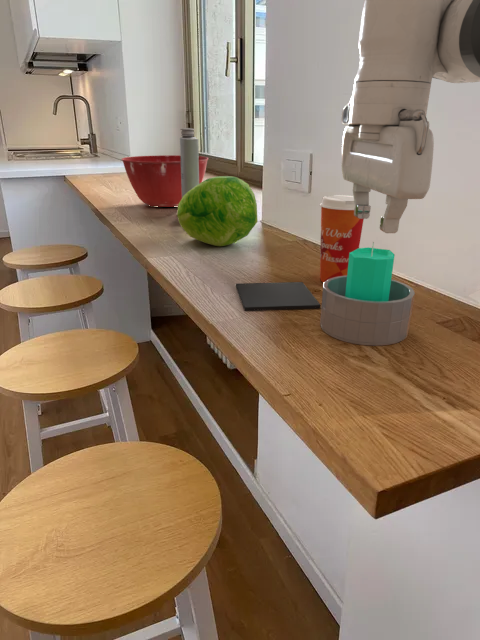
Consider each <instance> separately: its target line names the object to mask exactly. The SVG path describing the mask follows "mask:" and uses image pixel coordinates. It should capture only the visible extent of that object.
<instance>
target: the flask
mask: <svg viewBox="0 0 480 640" xmlns="http://www.w3.org/2000/svg"><path fill="white" fill-rule="evenodd" d="M179 131H180V137H179V147H180V149H179V152H180V154H179V155H181V189H182V198H183V196H184V195H185V194H186V193H187V192H188V191H190V190H191V189H192V188H194V187H195V186H197V185H198V184H199V156H200V155H199V154H200V153H199V152H200V151H199V147H200V146H199V138H197V137H196V136H195V128H192V127H183V128H180V129H179Z"/></svg>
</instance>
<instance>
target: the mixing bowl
mask: <svg viewBox="0 0 480 640" xmlns="http://www.w3.org/2000/svg"><path fill="white" fill-rule="evenodd" d="M120 160H121V161H122V163H123V167H124V171H125V173H126V175H127V178H128V181H129V183H130V184H131V187H132V189H133V191H134V192H135V194H136V196H137V197H138V199H139V200H140V201H141V202H142V203H144V204H145V205H147V206H148V205H150V206H158V207H174V206H178V204H179V203H180V201H181V199H182V189H181V155H180V154H179V155H176V154H175V155H170V154H169V155H167V154H166V155H165V154H163V155H161V154H160V155H159V154H158V155H138V156H126V157H122V158H121V159H120ZM208 161H209V157H208V156H202V155H201V156H200V155H199V184H200V183H201V182H203V181H204V178H205V174H206V170H207V164H208ZM150 206H149V207H150Z"/></svg>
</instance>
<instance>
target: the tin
mask: <svg viewBox="0 0 480 640" xmlns="http://www.w3.org/2000/svg"><path fill="white" fill-rule="evenodd" d="M346 282H347V275H344V276H337V277H333V278H330V279H328V280H326V281H325V282H324V283H323V284H322V295H321V296H322V297H321V308H320V320H319V325H320V328H321V330H322V332H324V333H325V334H327V335H328V336H330V337H331V338H334V339H337V340H339V341H342V342H345V343H349V344H354V345H360V346H371V347H372V346H373V347H374V346H375V347H376V346H377V347H379V346H388V345H394V344H397V343H400V342H402V341H404V340H405V339H406V338H407V337H408V335H409V332H410V326H411V321H412V313H413V308H414V301H415V295H416V292H415V289H414V288H412V287H411V286H410V285H408V284H406V283H405V282H402V281H399V280H397V279H392V278H391V285H390V293H389V300H388V301H378V302H377V301H364V300H358V299H352V298H348V297H345V292H346Z"/></svg>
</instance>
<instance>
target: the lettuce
mask: <svg viewBox="0 0 480 640" xmlns="http://www.w3.org/2000/svg"><path fill="white" fill-rule="evenodd" d="M176 216H177V220H178V223H179V225H180V227H182V229H183V230H184V232H185V233H186V234H187V236H189V237H190V238H193V239H194V240H196V241H198V242H201V243H204V244H208V245H211V246H214V247H224V246H229V245H233V244H235V243H236V242H239V241H240V240H243V239H244V238H246V237H247V236H248V235H249V234H250V233H251V231H252V230H253V229H254V227H255V226H256V225H257V223H258V204H257V200H256V195H255V193H254V191H253V189H252V188H251V186H250V185H249V183H248V182H246V181H244V180H243V179H241V178H239V177H237V176H233V175H230V176H229V175H224V176H219V175H217V176H213V177H209V178H207V179H205V180H203V181H202V182H201V183H200V184H198V185H197V186H195V187H194V188H192V189H191V190H190V191H188V192H187V193H186V194H185V195H184V196H183V198H182V199H181V201H180V203H179V204H178V207H177V212H176Z"/></svg>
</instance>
